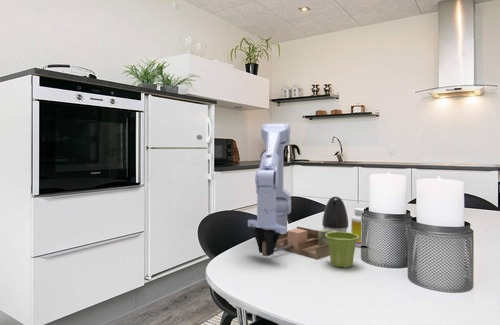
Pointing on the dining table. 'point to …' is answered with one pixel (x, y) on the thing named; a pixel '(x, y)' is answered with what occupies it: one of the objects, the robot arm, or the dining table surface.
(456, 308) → the dining table surface
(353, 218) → the supplement bottle
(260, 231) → the robot arm
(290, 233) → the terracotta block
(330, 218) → the black rounded cone
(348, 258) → the plant pot
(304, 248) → the lane shelf
